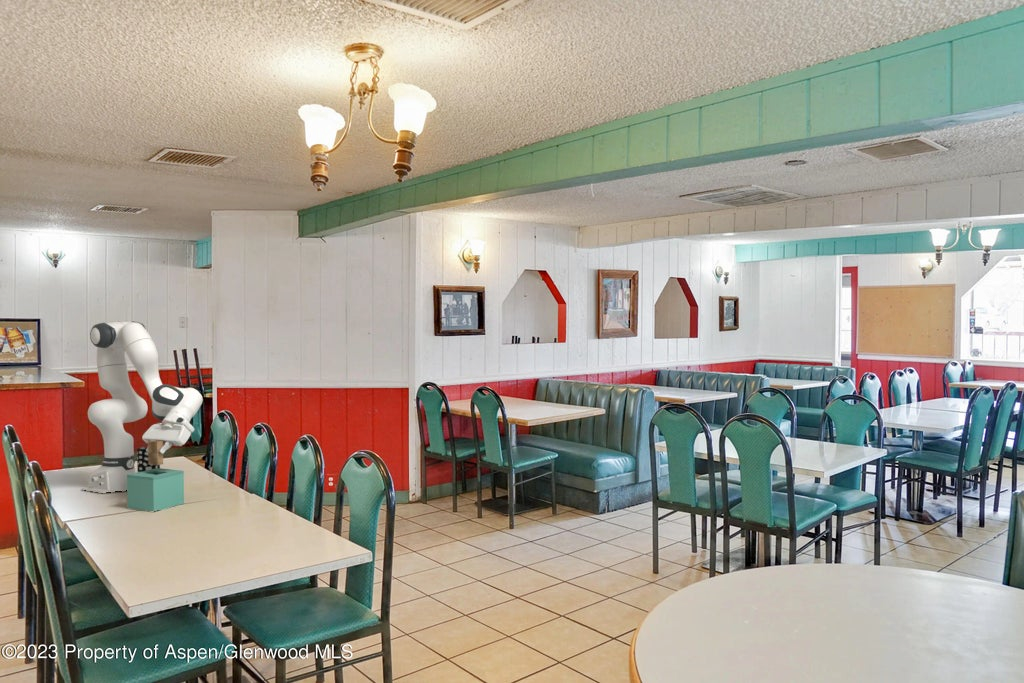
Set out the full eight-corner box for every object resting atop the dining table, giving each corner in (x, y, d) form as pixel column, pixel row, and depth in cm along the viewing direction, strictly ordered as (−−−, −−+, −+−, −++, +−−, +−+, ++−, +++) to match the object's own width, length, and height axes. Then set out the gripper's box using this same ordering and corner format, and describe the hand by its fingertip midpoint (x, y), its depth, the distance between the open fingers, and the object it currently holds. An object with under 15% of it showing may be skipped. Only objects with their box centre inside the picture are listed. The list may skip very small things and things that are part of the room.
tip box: (127, 508, 280) (126, 474, 280) (158, 500, 293) (157, 468, 292) (153, 512, 274) (153, 477, 274) (184, 503, 287) (183, 470, 287)
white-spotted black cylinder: (165, 494, 302) (164, 446, 302) (149, 499, 295) (148, 449, 294) (149, 493, 305) (148, 445, 305) (133, 497, 297) (132, 448, 297)
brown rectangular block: (148, 464, 283) (147, 441, 283) (153, 463, 285) (153, 440, 285) (157, 465, 281) (157, 441, 281) (163, 464, 283) (162, 440, 283)
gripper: (151, 417, 293) (130, 445, 285) (188, 419, 285) (168, 448, 276) (160, 427, 298) (140, 455, 289) (197, 429, 289) (178, 458, 281)
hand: (154, 452), depth 282 cm, fingers closed on brown rectangular block, 5 cm apart
